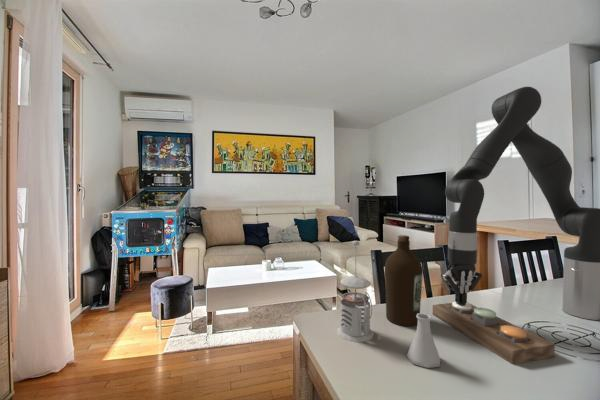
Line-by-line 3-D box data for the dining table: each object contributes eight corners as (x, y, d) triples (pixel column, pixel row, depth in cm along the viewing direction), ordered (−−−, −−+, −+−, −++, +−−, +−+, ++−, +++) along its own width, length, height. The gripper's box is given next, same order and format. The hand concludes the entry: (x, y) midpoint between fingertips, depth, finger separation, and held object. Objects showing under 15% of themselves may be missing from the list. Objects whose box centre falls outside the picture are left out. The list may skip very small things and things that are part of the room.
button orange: (511, 339, 72) (511, 324, 72) (531, 349, 67) (531, 334, 67) (495, 341, 71) (495, 326, 71) (514, 352, 66) (514, 336, 66)
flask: (445, 371, 60) (446, 324, 60) (409, 367, 62) (410, 321, 61) (436, 352, 67) (436, 310, 67) (404, 349, 69) (404, 308, 68)
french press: (361, 321, 83) (362, 236, 82) (385, 341, 72) (386, 243, 71) (331, 326, 80) (331, 238, 79) (351, 348, 69) (351, 246, 68)
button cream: (462, 312, 87) (462, 300, 87) (475, 320, 83) (475, 307, 82) (448, 314, 86) (448, 302, 86) (460, 321, 81) (461, 308, 81)
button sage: (484, 320, 80) (484, 306, 79) (500, 328, 75) (500, 314, 75) (469, 322, 78) (469, 308, 78) (484, 330, 74) (485, 316, 73)
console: (465, 310, 91) (465, 301, 91) (554, 357, 65) (554, 344, 65) (432, 314, 88) (432, 304, 88) (512, 364, 63) (512, 350, 63)
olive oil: (379, 321, 83) (380, 236, 82) (389, 309, 92) (390, 232, 91) (418, 331, 77) (419, 240, 77) (424, 317, 86) (426, 235, 85)
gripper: (470, 243, 89) (469, 298, 89) (434, 245, 86) (432, 301, 87) (491, 248, 82) (490, 307, 82) (452, 250, 79) (451, 311, 79)
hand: (460, 304), depth 84 cm, fingers closed
